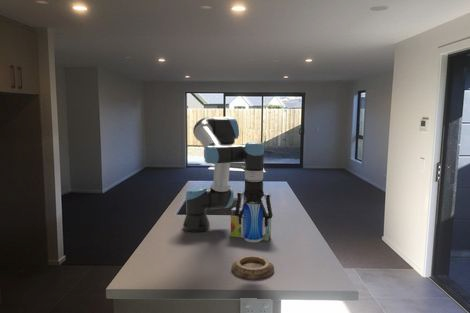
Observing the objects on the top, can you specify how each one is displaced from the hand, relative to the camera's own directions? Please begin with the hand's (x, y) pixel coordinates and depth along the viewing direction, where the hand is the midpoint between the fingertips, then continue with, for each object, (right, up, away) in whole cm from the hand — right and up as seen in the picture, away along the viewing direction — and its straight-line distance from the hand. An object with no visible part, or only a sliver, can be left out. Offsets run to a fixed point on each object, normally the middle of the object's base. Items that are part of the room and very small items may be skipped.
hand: (253, 232), depth 148 cm
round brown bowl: (0, -16, +2) cm, 16 cm away
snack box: (+1, -11, +40) cm, 42 cm away
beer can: (0, -3, 0) cm, 3 cm away
